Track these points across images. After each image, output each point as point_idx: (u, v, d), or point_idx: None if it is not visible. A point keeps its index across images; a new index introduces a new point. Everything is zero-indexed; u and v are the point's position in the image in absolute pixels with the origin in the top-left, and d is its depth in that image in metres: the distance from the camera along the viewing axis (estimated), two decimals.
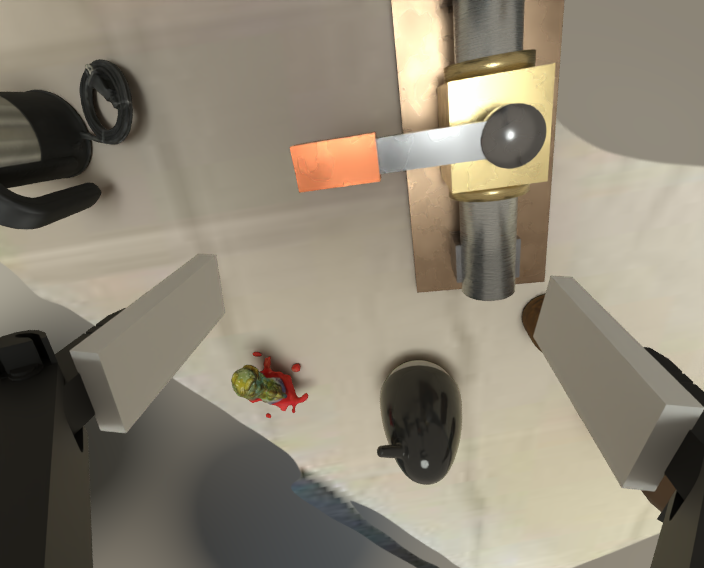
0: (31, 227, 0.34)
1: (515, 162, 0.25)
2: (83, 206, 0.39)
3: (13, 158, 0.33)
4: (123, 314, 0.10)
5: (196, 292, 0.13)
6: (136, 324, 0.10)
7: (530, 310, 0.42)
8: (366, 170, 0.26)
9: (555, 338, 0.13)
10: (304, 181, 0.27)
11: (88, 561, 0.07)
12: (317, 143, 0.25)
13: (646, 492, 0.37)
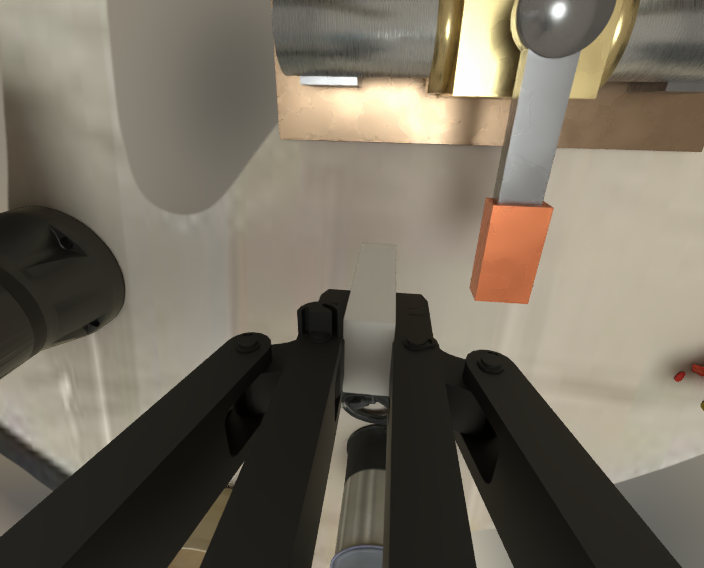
0: None
1: (607, 0, 0.16)
2: None
3: None
4: (355, 292, 0.12)
5: None
6: (372, 300, 0.12)
7: None
8: (533, 222, 0.20)
9: None
10: (517, 295, 0.22)
11: (316, 529, 0.08)
12: (481, 271, 0.22)
13: None
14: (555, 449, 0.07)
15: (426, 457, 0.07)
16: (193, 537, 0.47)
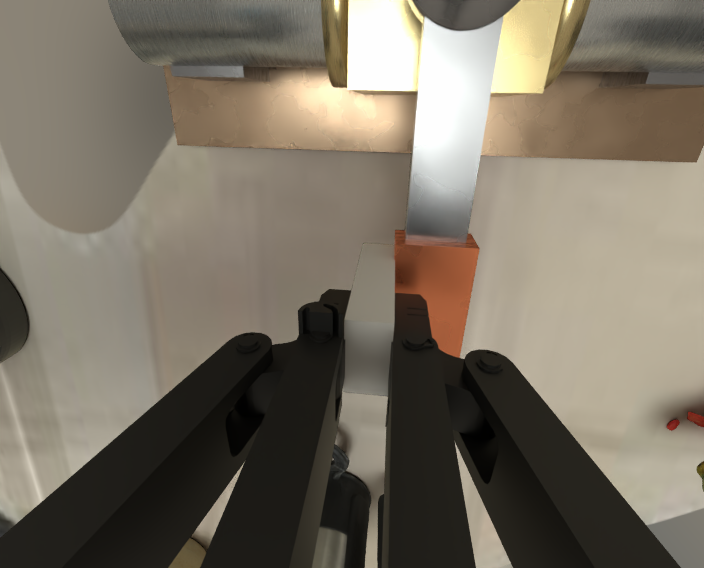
0: None
1: None
2: None
3: (338, 565, 0.33)
4: (356, 292, 0.12)
5: None
6: (373, 300, 0.12)
7: None
8: (453, 268, 0.14)
9: None
10: None
11: (316, 529, 0.08)
12: None
13: None
14: (554, 449, 0.07)
15: (425, 456, 0.07)
16: None
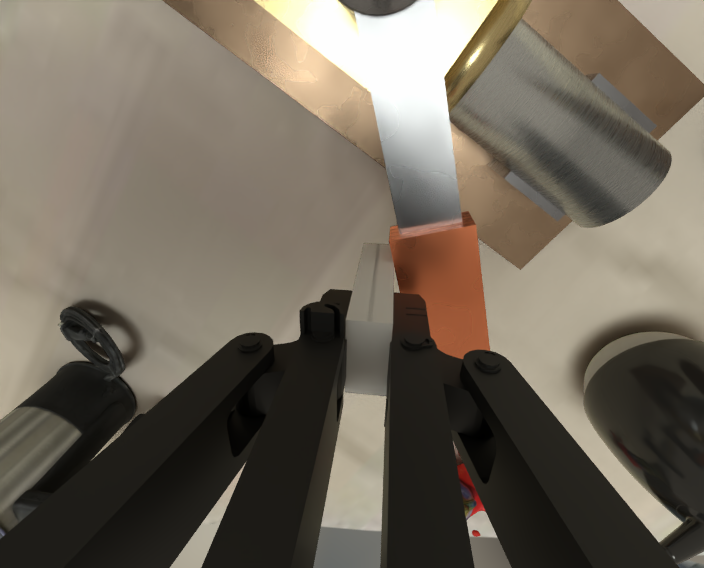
0: None
1: None
2: None
3: (51, 456, 0.32)
4: (357, 292, 0.12)
5: None
6: None
7: None
8: (454, 251, 0.14)
9: None
10: (471, 348, 0.16)
11: (318, 529, 0.07)
12: None
13: None
14: (552, 449, 0.07)
15: (423, 456, 0.07)
16: None
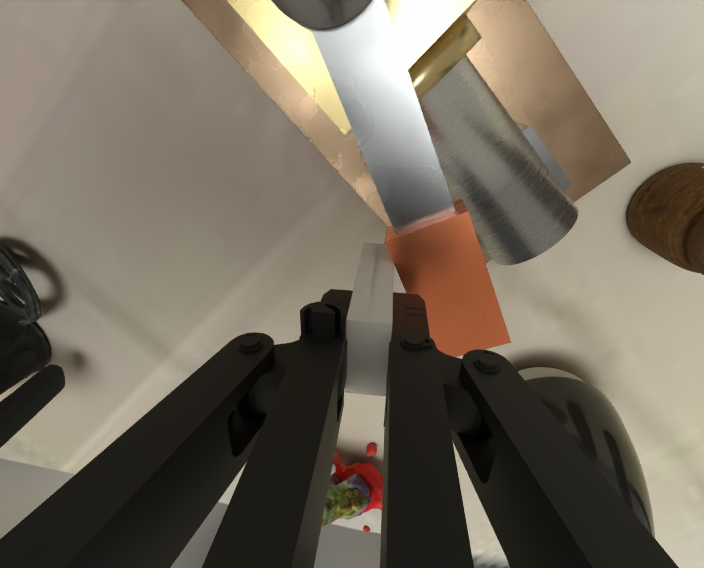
0: None
1: None
2: (45, 396, 0.34)
3: None
4: (357, 292, 0.12)
5: None
6: None
7: (637, 219, 0.24)
8: (452, 241, 0.14)
9: None
10: (489, 336, 0.15)
11: (318, 529, 0.07)
12: None
13: None
14: (551, 449, 0.07)
15: (423, 456, 0.07)
16: None
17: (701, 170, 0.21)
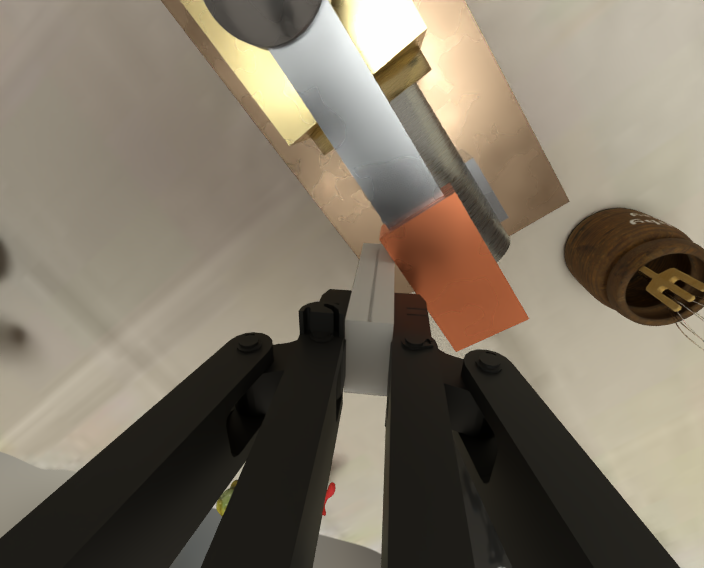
0: None
1: None
2: None
3: None
4: (356, 292, 0.12)
5: None
6: (374, 300, 0.12)
7: (571, 255, 0.25)
8: (445, 225, 0.13)
9: None
10: (505, 316, 0.15)
11: (317, 529, 0.07)
12: (433, 316, 0.15)
13: None
14: (553, 449, 0.07)
15: (424, 456, 0.07)
16: None
17: (628, 216, 0.23)
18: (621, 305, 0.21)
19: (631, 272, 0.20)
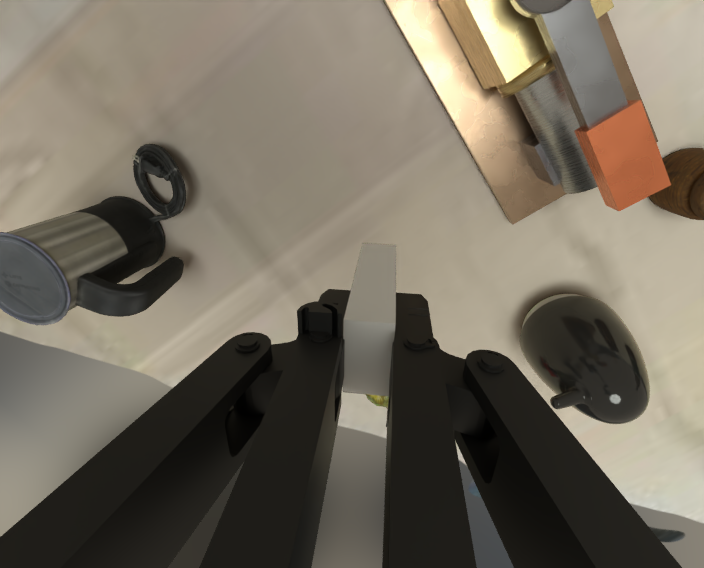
0: (140, 310, 0.37)
1: None
2: (174, 278, 0.41)
3: (107, 257, 0.37)
4: (355, 292, 0.12)
5: None
6: (372, 300, 0.12)
7: None
8: (630, 121, 0.23)
9: None
10: (656, 183, 0.24)
11: (316, 529, 0.08)
12: (609, 185, 0.24)
13: None
14: (555, 449, 0.07)
15: (426, 457, 0.07)
16: None
17: (702, 150, 0.32)
18: (702, 207, 0.30)
19: None
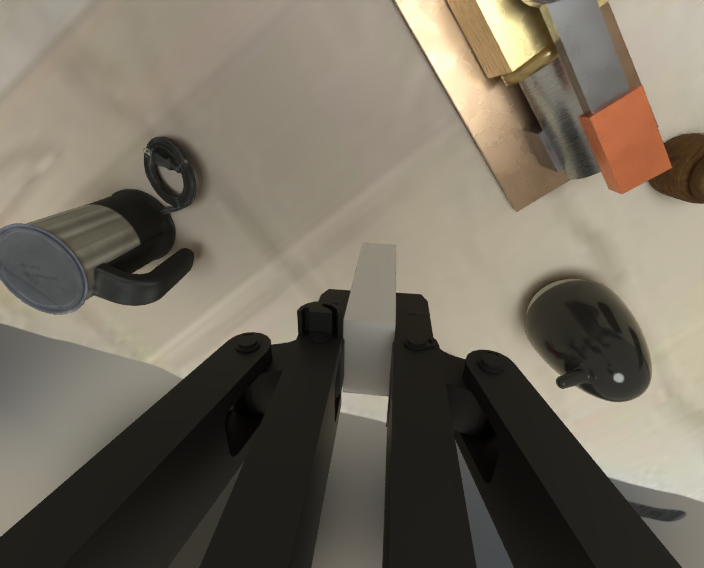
0: (154, 299, 0.38)
1: None
2: (185, 269, 0.42)
3: (121, 248, 0.38)
4: (355, 292, 0.12)
5: None
6: (372, 300, 0.12)
7: None
8: (632, 106, 0.23)
9: None
10: (657, 166, 0.25)
11: (316, 529, 0.08)
12: (612, 169, 0.25)
13: None
14: (555, 449, 0.07)
15: (426, 456, 0.07)
16: None
17: (702, 135, 0.33)
18: (702, 190, 0.31)
19: None
